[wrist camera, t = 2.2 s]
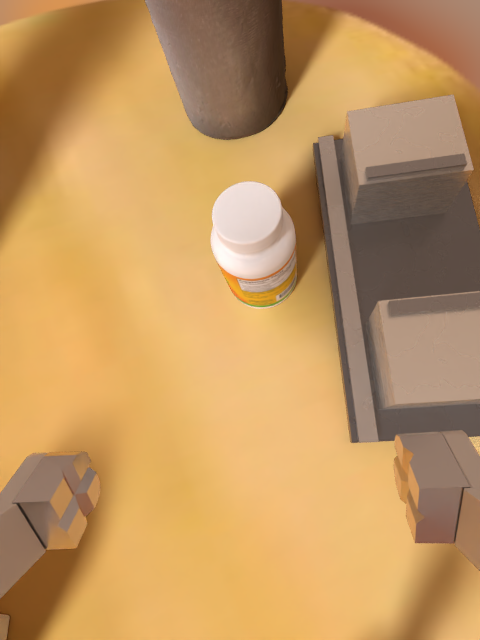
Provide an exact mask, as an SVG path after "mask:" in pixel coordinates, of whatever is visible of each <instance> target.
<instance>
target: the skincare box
mask: <svg viewBox="0 0 480 640" xmlns="http://www.w3.org/2000/svg"><path fill="white" fill-rule="evenodd" d="M9 619H10V616H9V615H4V614H0V640H7V633H8V626H9Z"/></svg>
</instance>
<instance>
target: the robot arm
mask: <svg viewBox="0 0 480 640" xmlns="http://www.w3.org/2000/svg"><path fill="white" fill-rule="evenodd" d="M395 449H396V452H397V455H398V456H397V457H396V458H395V459H394V474H395V481H396V486H397V490H398V493H399V496H400V499H401V500H402V501H403V502H404V503H406V518H407V521H408V524H409V527H410V530H411V533H412V536H413V539H414V542H415V543H455V546H456V547H457V548H458V549H459V550H460V551H461V552H462V553H463V554H464V555H465V556H466V557H467V558H468V559H469V560H470V561H471V562H472V564H473V565H474V566H475V567H476V568H477V569H478V570H479V571H480V456H479V454H478V452H477V451H476V449H475V447H474V446H473V444H472V442H471V441H470V439H469V438H468V436H467V434H466V433H465V432H464V431H462V430H455V431H440V432H424V433H409V434H396V437H395ZM90 463H91V459H90V458H89V456H88V454H87V452H82V451H81V452H49V453H32V454H31V455H29V456H27V457H26V459H25V460H24V462H23V463H22V464H21V466H20V467H19V468H18V470H17V471H16V473H15V474H14V475H13V477H12V478H11V479H10V481H9V482H8V484H7V485H6V486H5V488H4V489H3V490H2V492H1V493H0V599H1V597H2V596H3V595H4V594H5V593H6V592H7V591H8V590H9V589H10V588H11V587H12V586H13V585H14V584H15V583H16V582H17V581H18V580H19V579H20V578H21V577H22V576H23V575H24V574H25V573H26V572H27V571H28V570H29V569H30V568H31V567H32V566H33V564H34V563H35V562H36V561H37V560H38V559H39V558H40V557H41V556H42V555H43V554H44V553H45V552H46V550H52V549H73V548H77V546H78V544H79V541H80V539H81V537H82V535H83V533H84V531H85V528H86V526H87V520H86V516H87V515H88V514H89V513H90V512H91V511H92V510H93V509H95V506H96V504H97V502H98V499H99V494H100V488H101V487H100V480H99V477H98V475H97V473H96V472H95V471H94V470H92V469H91V468H89V465H90Z"/></svg>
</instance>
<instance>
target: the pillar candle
mask: <svg viewBox="0 0 480 640" xmlns="http://www.w3.org/2000/svg"><path fill="white" fill-rule="evenodd" d="M145 3H146V5H147V8H148V9H149V12H150V15H151V19H152V23H153V24H154V26H155V29H156V32H157V35H158V38H159V41H160V43H161V46H162V48H163V51H164V54H165V56H166V59H167V62H168V65H169V68H170V71H171V74H172V76H173V79H174V81H175V83H176V86H177V89H178V91H179V94H180V97H181V100H182V103H183V105H184V108H185V111H186V113H187V116H188V117H189V119H190V121H191V123H192V124H193V126H194V127H195V128H197V129H198V130H199V131H200V132H201V133H203V134H205V135H206V136H210V137H212V138H217V139H218V138H219V139H224V140H225V139H226V140H230V139H238V138H242V137H246V136H250V135H252V134H256V133H258V132H260V131H262V130H264V129H265V128H266V127H268V126H269V125H270V124H272V122H273V121H274V120H276V118H277V116H279V114H280V113H281V111H282V110H283V108H284V106H285V102H286V99H287V93H288V91H287V90H288V88H287V85H286V79H285V71H286V69H285V66H286V65H285V62H286V61H285V55H284V42H283V40H284V39H283V24H282V19H283V18H282V0H145Z"/></svg>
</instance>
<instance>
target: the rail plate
mask: <svg viewBox="0 0 480 640" xmlns="http://www.w3.org/2000/svg"><path fill="white" fill-rule="evenodd" d="M313 155H314V163H315V170H316V178H317V186H318V194H319V202H320V209H321V217H322V225H323V233H324V240H325V248H326V256H327V264H328V271H329V279H330V287H331V295H332V302H333V310H334V318H335V326H336V334H337V341H338V349H339V357H340V365H341V372H342V380H343V388H344V396H345V403H346V411H347V419H348V427H349V434H350V442H351V443H357V442H359V443H361V442H379V441H395V437H396V434H409V433H424V432H440V431H455V430H462V431H464V432H465V433H466V434H467V436H468V437H474V436H480V229H479V225H478V221H477V217H476V213H475V210H474V206H473V202H472V198H471V194H470V190H469V187H468V183H467V180H468V178H469V177H470V175H471V173H472V172H473V170H474V168H473V165H472V161H471V157H470V154H469V150H468V146H467V142H466V139H465V135H464V131H463V128H462V124H461V120H460V116H459V113H458V109H457V105H456V102H455V98H454V95H448V96H441V97H435V98H429V99H423V100H416V101H410V102H404V103H398V104H391V105H385V106H379V107H373V108H366V109H360V110H354V111H348V112H347V116H346V123H345V131H344V138H343V139H339V140H334V138H333V135H331V136H324V137H318V143H313Z"/></svg>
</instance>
